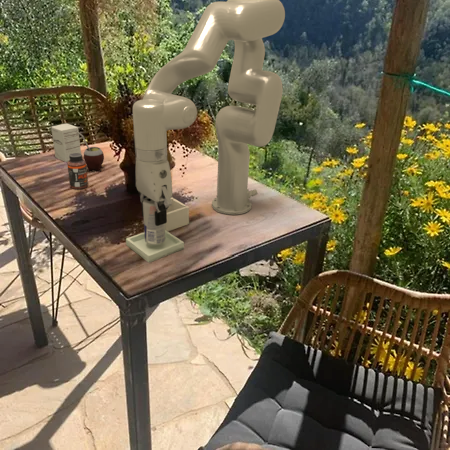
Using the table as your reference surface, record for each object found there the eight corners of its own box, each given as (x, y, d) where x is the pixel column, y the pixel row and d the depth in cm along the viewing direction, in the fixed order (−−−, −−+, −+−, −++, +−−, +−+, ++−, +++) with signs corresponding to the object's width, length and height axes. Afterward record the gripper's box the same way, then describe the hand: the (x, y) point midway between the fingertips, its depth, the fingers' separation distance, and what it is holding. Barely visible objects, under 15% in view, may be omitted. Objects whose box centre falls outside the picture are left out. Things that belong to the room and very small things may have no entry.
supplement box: (55, 158, 177) (50, 126, 171) (71, 153, 182) (67, 122, 176) (65, 162, 173) (61, 130, 167) (82, 158, 178) (78, 126, 172)
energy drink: (155, 233, 123) (153, 193, 118) (169, 240, 121) (168, 199, 115) (140, 241, 120) (138, 200, 114) (154, 248, 117) (152, 206, 111)
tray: (160, 232, 128) (160, 226, 127) (183, 248, 121) (183, 242, 120) (126, 245, 121) (125, 238, 120) (148, 262, 114) (148, 256, 113)
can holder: (172, 213, 138) (172, 197, 136) (188, 223, 133) (188, 207, 130) (149, 221, 134) (149, 204, 131) (165, 232, 128) (165, 214, 126)
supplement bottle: (81, 191, 151) (77, 158, 145) (66, 188, 152) (61, 156, 147) (91, 184, 156) (88, 153, 150) (77, 182, 157) (73, 150, 152)
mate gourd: (108, 169, 168) (105, 130, 161) (90, 175, 163) (86, 134, 156) (96, 164, 172) (92, 126, 165) (78, 170, 167) (73, 130, 160)
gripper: (185, 159, 105) (186, 228, 114) (145, 141, 116) (148, 204, 125) (158, 166, 101) (161, 237, 109) (119, 146, 112) (124, 212, 121)
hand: (154, 219), depth 117 cm, fingers closed on energy drink, 5 cm apart
